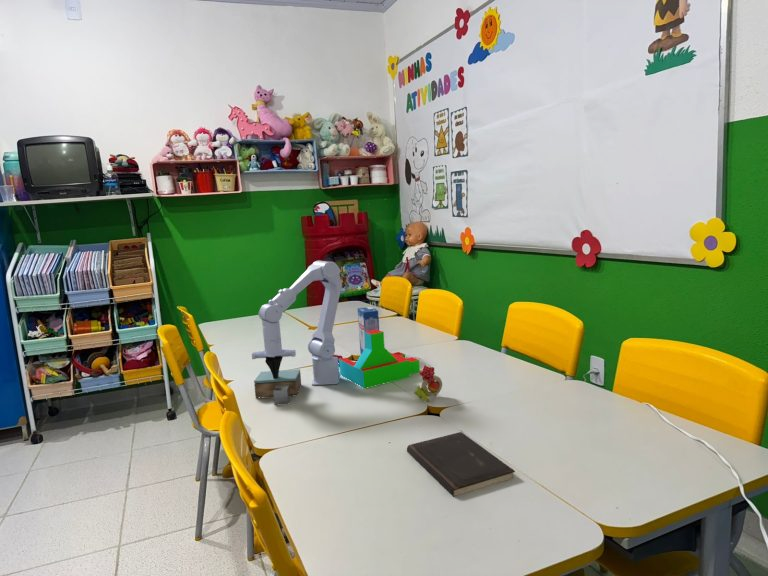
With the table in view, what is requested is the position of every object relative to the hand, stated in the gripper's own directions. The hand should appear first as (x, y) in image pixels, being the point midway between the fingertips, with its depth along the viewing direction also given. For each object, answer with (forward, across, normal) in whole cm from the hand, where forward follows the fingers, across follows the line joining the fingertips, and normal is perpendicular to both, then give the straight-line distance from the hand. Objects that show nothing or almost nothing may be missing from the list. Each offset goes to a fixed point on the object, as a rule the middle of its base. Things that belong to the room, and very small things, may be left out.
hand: (276, 377), depth 175 cm
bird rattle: (+6, +51, -12) cm, 53 cm away
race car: (+6, +15, +30) cm, 35 cm away
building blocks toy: (+6, +36, +14) cm, 40 cm away
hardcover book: (+7, +53, -56) cm, 77 cm away
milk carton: (+6, +32, +40) cm, 51 cm away
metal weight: (+6, +3, -8) cm, 10 cm away
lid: (+1, 0, +3) cm, 3 cm away
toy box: (+6, 0, +3) cm, 7 cm away
